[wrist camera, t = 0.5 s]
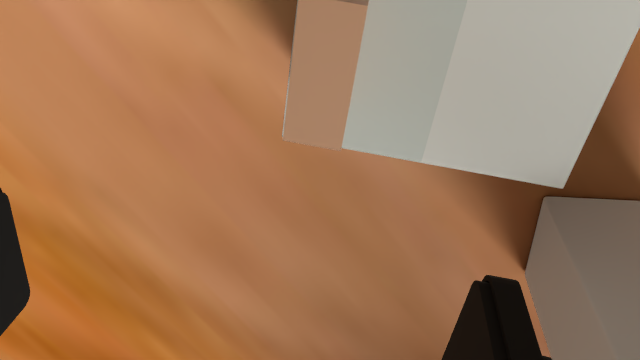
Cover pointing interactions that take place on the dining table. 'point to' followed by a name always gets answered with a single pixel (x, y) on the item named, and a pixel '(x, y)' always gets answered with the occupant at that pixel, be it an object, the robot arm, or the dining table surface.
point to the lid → (457, 80)
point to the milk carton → (587, 277)
